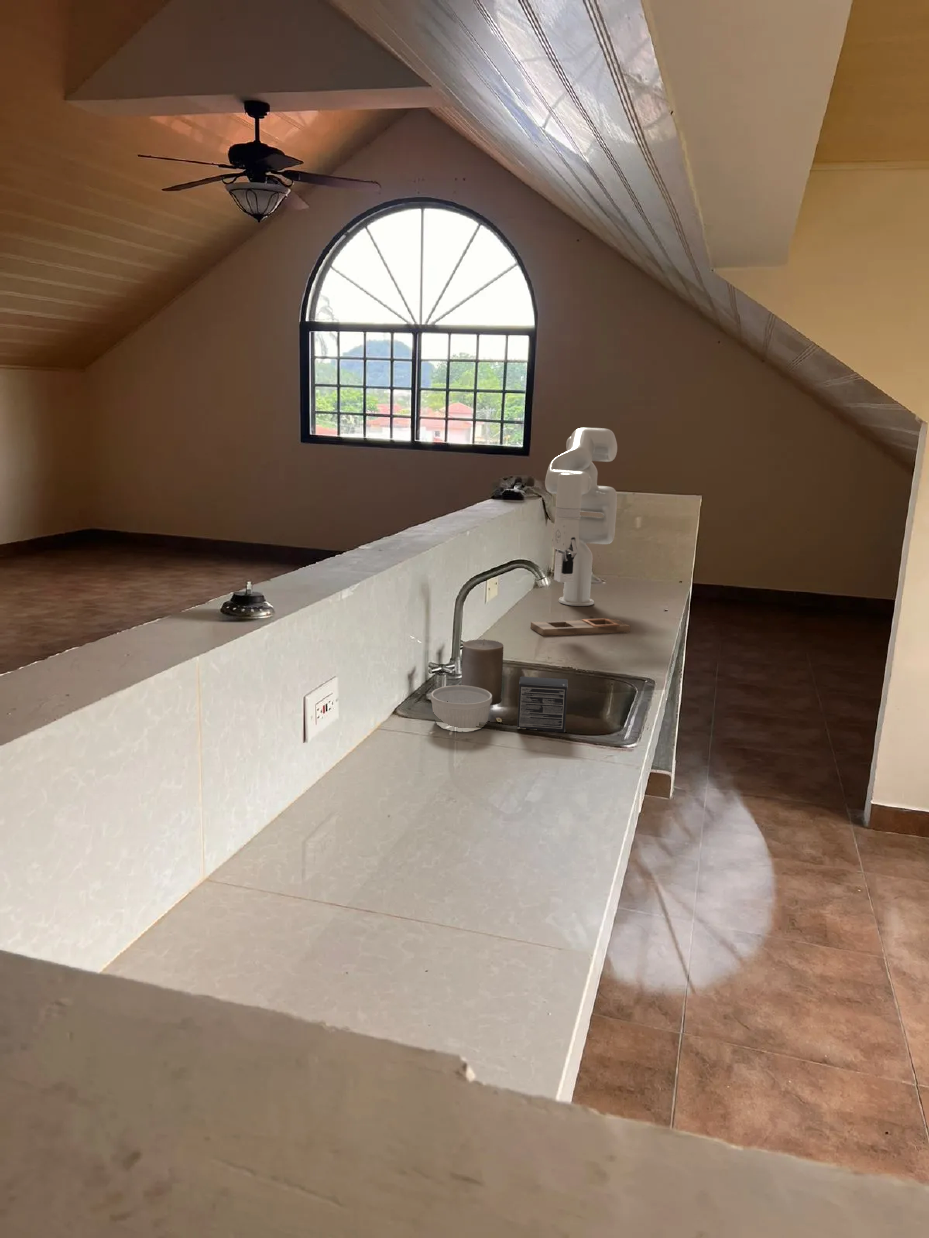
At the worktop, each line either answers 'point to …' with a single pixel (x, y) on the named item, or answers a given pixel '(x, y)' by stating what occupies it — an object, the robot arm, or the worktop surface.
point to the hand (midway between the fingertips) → (564, 571)
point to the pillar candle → (483, 666)
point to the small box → (542, 703)
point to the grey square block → (561, 568)
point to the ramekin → (461, 705)
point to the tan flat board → (580, 627)
